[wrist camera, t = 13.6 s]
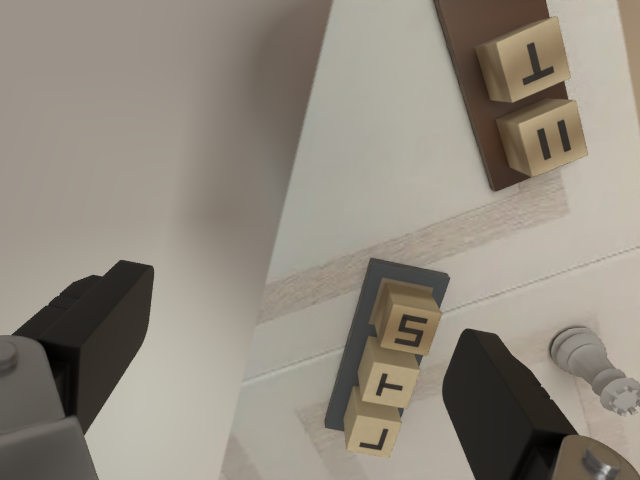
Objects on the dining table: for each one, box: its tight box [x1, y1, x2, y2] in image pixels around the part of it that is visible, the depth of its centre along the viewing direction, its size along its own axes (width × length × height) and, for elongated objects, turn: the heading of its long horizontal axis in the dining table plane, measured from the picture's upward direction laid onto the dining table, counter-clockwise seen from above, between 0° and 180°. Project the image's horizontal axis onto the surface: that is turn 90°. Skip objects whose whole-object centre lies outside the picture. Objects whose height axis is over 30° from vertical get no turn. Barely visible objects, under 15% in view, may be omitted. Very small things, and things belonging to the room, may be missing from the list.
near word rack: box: [434, 0, 588, 191], centre depth 31 cm, size 18×7×5 cm, turn 23°
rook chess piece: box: [551, 327, 640, 416], centre depth 38 cm, size 4×4×8 cm
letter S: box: [374, 283, 442, 356], centre depth 37 cm, size 4×4×4 cm
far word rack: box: [325, 258, 450, 458], centre depth 39 cm, size 18×7×5 cm, turn 167°
